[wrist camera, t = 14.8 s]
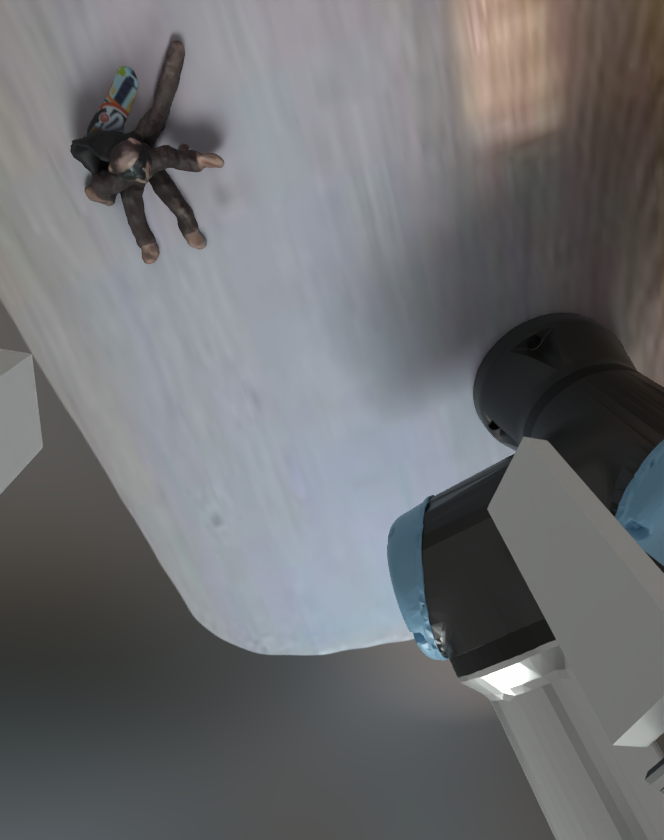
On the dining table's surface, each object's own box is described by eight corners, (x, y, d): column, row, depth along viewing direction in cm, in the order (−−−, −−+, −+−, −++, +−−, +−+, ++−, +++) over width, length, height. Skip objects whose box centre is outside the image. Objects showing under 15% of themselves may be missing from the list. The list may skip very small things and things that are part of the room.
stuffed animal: (106, 269, 39) (12, 129, 28) (120, 192, 43) (43, 44, 32) (241, 257, 39) (199, 114, 28) (241, 181, 43) (205, 31, 32)
